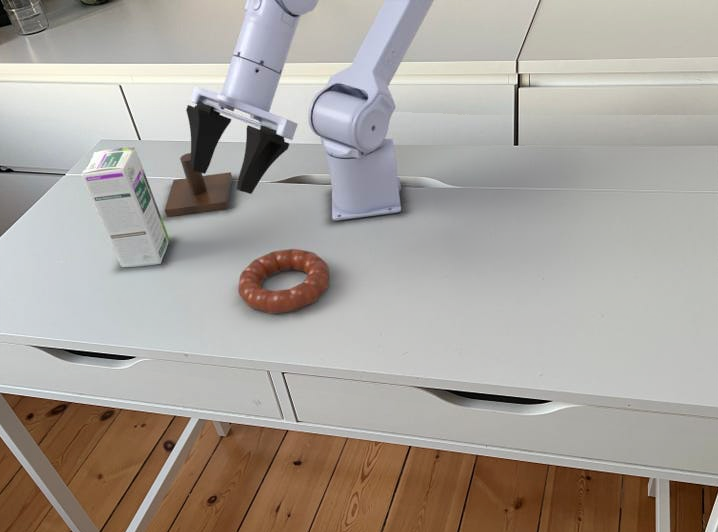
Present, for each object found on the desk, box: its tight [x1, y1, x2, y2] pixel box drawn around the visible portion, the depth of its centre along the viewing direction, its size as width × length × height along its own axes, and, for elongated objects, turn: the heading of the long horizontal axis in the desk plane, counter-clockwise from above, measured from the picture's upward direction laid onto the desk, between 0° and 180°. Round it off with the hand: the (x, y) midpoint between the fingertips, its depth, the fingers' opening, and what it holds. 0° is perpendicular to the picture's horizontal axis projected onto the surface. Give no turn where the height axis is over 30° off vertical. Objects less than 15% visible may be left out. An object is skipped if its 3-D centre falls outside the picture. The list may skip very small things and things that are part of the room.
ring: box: [237, 248, 330, 314], centre depth 95 cm, size 11×11×3 cm
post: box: [164, 152, 233, 218], centre depth 114 cm, size 9×9×7 cm
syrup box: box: [80, 147, 170, 268], centre depth 101 cm, size 6×6×14 cm
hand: (220, 181), depth 90 cm, fingers open, 7 cm apart
